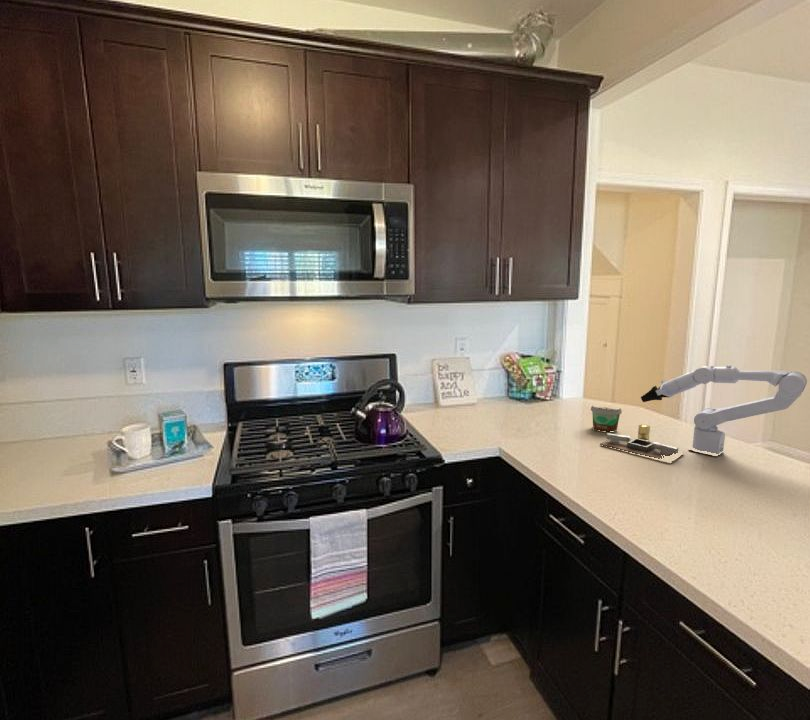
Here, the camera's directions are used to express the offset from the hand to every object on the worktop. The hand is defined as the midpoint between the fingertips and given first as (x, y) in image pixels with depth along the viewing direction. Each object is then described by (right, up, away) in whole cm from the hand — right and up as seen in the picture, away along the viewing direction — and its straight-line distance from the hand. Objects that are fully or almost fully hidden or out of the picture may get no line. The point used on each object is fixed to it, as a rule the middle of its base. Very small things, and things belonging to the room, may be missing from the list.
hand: (645, 398), depth 187 cm
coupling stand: (-7, -18, -10) cm, 22 cm away
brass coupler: (-1, -17, 0) cm, 17 cm away
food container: (-11, -15, +12) cm, 22 cm away
